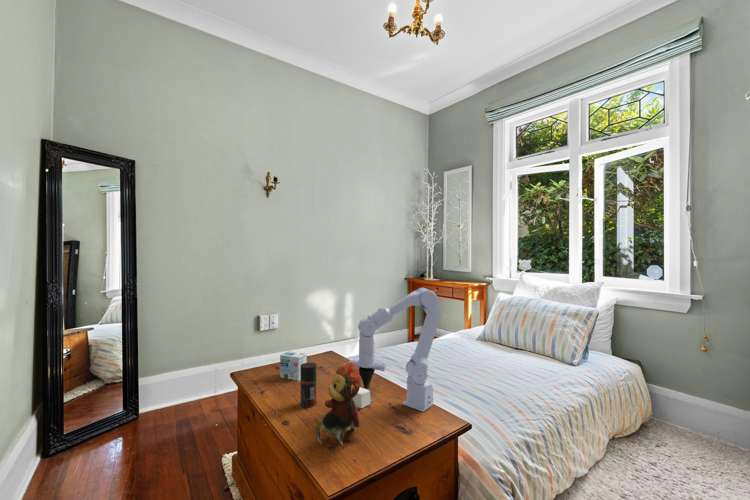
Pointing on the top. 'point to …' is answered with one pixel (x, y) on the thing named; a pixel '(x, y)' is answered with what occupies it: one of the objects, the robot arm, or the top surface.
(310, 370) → the deodorant
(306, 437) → the top surface
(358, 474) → the top surface
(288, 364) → the light bulb box
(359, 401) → the block
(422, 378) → the robot arm
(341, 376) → the stuffed monkey
